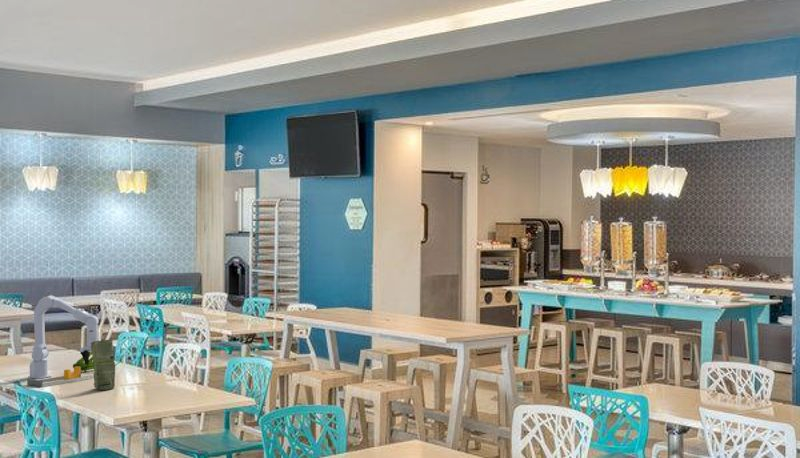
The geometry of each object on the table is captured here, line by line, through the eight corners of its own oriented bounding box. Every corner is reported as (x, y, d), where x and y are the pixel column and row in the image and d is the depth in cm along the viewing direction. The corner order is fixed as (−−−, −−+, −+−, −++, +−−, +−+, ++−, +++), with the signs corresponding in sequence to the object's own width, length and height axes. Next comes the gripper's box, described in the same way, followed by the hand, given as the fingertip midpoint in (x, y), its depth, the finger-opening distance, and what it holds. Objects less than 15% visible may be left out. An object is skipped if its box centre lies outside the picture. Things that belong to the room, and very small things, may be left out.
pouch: (91, 391, 453) (90, 340, 453) (92, 387, 464) (91, 337, 464) (115, 390, 456) (114, 339, 456) (115, 386, 467) (114, 336, 467)
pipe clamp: (73, 378, 493) (73, 366, 493) (80, 378, 492) (80, 366, 492) (61, 382, 481) (60, 370, 481) (68, 382, 480) (68, 370, 480)
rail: (27, 384, 473) (27, 379, 473) (78, 376, 498) (78, 370, 498) (40, 387, 466) (40, 381, 466) (91, 378, 491) (91, 372, 490)
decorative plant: (128, 371, 515) (128, 344, 515) (72, 373, 508) (71, 347, 507) (129, 366, 532) (129, 340, 532) (74, 368, 525) (74, 342, 525)
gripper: (85, 340, 490) (85, 366, 490) (108, 337, 501) (108, 362, 501) (77, 339, 494) (77, 364, 494) (100, 336, 506) (101, 361, 506)
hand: (93, 363), depth 498 cm, fingers open, 7 cm apart
